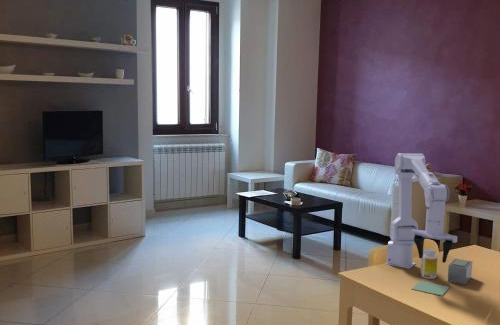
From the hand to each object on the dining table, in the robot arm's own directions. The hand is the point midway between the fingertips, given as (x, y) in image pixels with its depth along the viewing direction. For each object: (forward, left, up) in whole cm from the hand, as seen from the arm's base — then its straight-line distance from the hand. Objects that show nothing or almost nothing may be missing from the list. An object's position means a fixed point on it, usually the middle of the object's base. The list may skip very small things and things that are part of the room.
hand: (432, 259), depth 171 cm
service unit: (+6, +16, -10) cm, 20 cm away
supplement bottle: (-4, +12, -10) cm, 16 cm away
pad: (0, 0, -10) cm, 10 cm away
